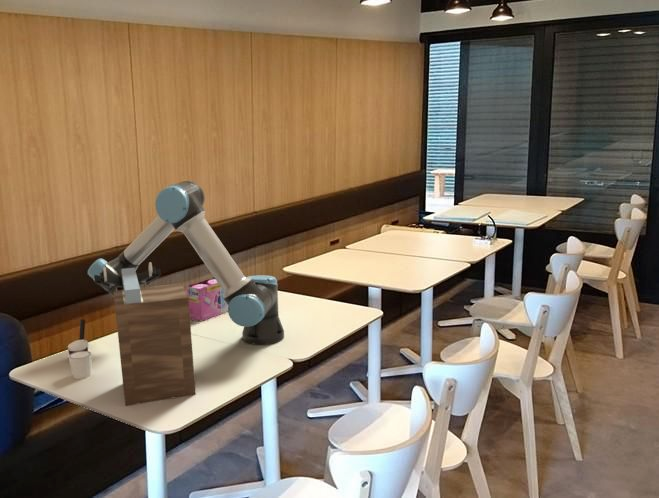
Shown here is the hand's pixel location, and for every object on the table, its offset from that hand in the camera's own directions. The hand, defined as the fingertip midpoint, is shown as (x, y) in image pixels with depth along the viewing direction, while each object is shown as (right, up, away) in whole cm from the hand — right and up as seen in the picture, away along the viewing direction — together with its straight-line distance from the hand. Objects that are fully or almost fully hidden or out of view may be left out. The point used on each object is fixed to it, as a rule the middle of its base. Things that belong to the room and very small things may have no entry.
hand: (128, 268), depth 201 cm
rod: (+3, -6, -7) cm, 10 cm away
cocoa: (-23, -31, +23) cm, 45 cm away
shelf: (+10, -36, -3) cm, 38 cm away
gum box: (+15, -20, +67) cm, 71 cm away
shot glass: (-17, -35, +8) cm, 39 cm away
